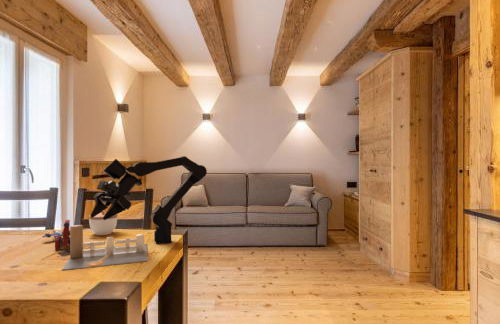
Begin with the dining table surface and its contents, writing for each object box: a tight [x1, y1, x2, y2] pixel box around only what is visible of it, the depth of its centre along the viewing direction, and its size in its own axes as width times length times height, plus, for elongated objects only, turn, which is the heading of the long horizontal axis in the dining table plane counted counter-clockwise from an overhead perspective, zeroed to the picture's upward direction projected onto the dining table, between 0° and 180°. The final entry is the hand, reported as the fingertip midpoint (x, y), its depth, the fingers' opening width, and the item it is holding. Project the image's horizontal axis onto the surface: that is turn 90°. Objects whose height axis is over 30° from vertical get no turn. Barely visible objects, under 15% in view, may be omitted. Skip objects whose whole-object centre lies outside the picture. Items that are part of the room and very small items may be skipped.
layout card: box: [61, 243, 149, 271], centre depth 115 cm, size 26×24×1 cm
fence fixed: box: [106, 233, 145, 255], centre depth 118 cm, size 13×3×6 cm, turn 109°
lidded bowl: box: [88, 210, 119, 236], centre depth 152 cm, size 13×13×11 cm
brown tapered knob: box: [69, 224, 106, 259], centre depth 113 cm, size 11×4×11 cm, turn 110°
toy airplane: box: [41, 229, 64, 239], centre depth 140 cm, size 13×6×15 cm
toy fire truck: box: [54, 219, 71, 250], centre depth 128 cm, size 7×12×10 cm, turn 26°
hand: (97, 218), depth 118 cm, fingers open, 9 cm apart
